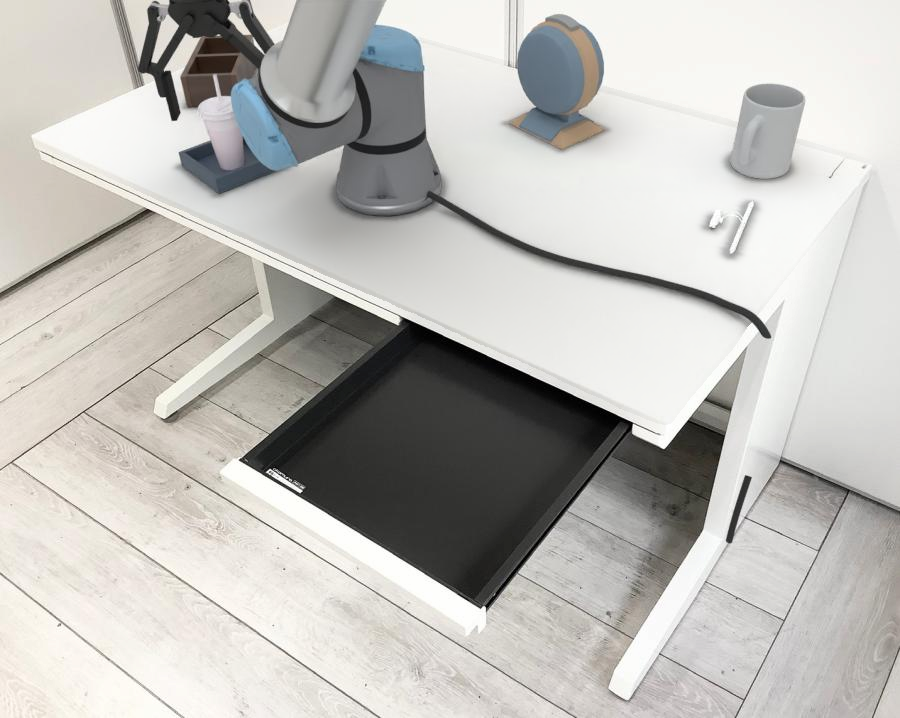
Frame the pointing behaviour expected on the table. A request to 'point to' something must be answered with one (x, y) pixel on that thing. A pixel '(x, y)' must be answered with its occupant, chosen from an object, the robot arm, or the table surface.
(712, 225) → the picture light
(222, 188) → the tray
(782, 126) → the mug
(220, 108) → the smoothie
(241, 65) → the rack
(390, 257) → the table surface
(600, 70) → the alarm clock
